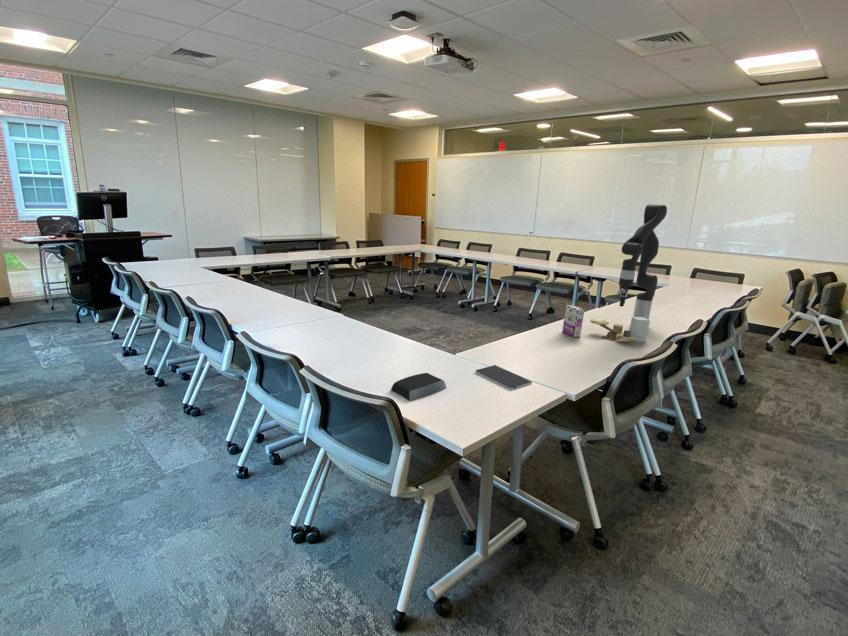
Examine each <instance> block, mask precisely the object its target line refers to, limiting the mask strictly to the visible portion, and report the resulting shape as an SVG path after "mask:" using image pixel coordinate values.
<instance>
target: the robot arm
mask: <svg viewBox="0 0 848 636" xmlns="http://www.w3.org/2000/svg"><path fill="white" fill-rule="evenodd" d="M667 214H668V207H667V205H665V204H658V203H657V204H655V203H647V204H646V206H645V209H644V213H643V224H642V225H641V226H639V227H638V228H637V230H636V231H635V233H634V234H633V236H631V237H630V238H629V239H628V240H626V241H625V242H624V243H623V244H622V247H621V253H622V254H624V255H627V256H632V257H631V258H627V259H626V258H625V259H623V261H622V265H621V266H622V267H621V271H620V274H619V280H618V285H619V286H621V288H620V293H619V296H620V297H619V299H620V301H619V307H625V306H624V305H625V304H626V298H627V297H628V293H629V288H631V287H633V285H634V280H635V274H636V267H637V263H638V261H639V265H638V266H639V267H638V271H637V275H636V286H637V287H638V288H641V289H645V290H646V291H645V292H639V293H637V295H636V298H635V304H634V309H633V315H632V317H644V318H646V319H648V320H650V316H651V310H652V305H653V299H654V297H655V293H656V290H657V286H658V282H659V281H658V276H657V275H656V274H650V273H647V271H648V267H649V266H650V264H651V262H652V261H653V260H654V259H655V258H656V257H657V256H658V252H659V245H660V244H659V243H660V242H659V238H658V236H657V235H656V232H655V231H654V230H655V229H656V228H657V227H658V226H659V224H661V222H662V221H663V220H664V219H665V218H666V217H667ZM639 259H640V260H639Z"/></svg>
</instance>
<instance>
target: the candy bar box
mask: <svg viewBox="0 0 848 636" xmlns="http://www.w3.org/2000/svg"><path fill="white" fill-rule="evenodd" d="M564 311H565V312H564V317H563V318H564V320H563V324H562V330H561V331H562V333H564V334H566V335H568V336H569V337H572V338H581V334H582V329H583V328H582V327H583V321H584V315H585V309H583V308H582V307H579V306H577V305H573V304H567V305H566V306H565V310H564Z"/></svg>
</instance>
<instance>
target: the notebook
mask: <svg viewBox="0 0 848 636" xmlns="http://www.w3.org/2000/svg"><path fill="white" fill-rule="evenodd" d="M475 374H477V375H480V376H481V377H483V378H486V379H487V380H489V381H491V382H494V383H496V384H498V385H500V386H502V387H504V388H506V389H508V390H509V391H510V390H511V391H513V390H515V389H518V388H521V387H524V386H527V385H530V384H531V385H532V381H531V380H530V379H527V378H524V377H522V376H521V375H518V374H516V373H514V372H512V371H510V370H507V369H505V368H504V367H503V368H502V367H500V366H498V365H496V364H493V365H491V366H486V367H483V368H479V369H475Z"/></svg>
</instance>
